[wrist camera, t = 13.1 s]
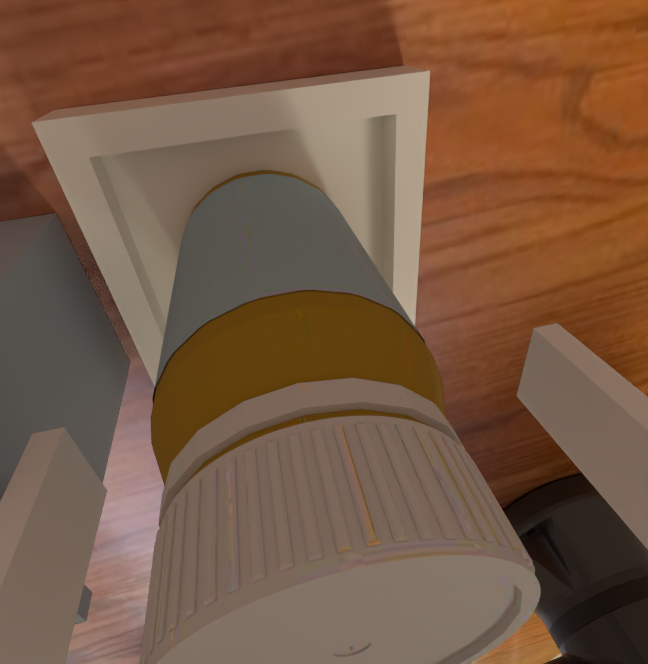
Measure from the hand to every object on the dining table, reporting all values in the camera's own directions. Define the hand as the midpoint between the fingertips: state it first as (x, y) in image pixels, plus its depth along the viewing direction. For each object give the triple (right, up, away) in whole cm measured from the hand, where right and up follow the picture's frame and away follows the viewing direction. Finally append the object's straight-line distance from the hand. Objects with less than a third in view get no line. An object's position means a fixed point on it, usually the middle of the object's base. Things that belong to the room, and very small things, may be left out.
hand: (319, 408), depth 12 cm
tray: (-3, +6, +7) cm, 10 cm away
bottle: (-2, +6, +6) cm, 9 cm away
